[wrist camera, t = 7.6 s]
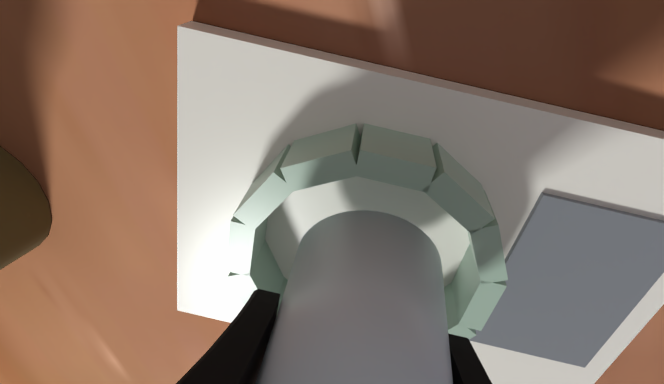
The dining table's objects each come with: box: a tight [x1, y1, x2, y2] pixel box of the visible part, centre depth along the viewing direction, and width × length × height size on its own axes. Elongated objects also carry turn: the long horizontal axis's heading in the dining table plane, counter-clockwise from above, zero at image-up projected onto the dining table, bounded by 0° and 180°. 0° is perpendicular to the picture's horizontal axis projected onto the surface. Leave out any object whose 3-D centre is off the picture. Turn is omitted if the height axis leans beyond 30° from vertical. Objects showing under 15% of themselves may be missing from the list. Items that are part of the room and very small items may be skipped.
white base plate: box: [177, 21, 664, 384], centre depth 15 cm, size 18×12×3 cm, turn 79°
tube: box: [255, 210, 453, 384], centre depth 10 cm, size 5×5×7 cm
